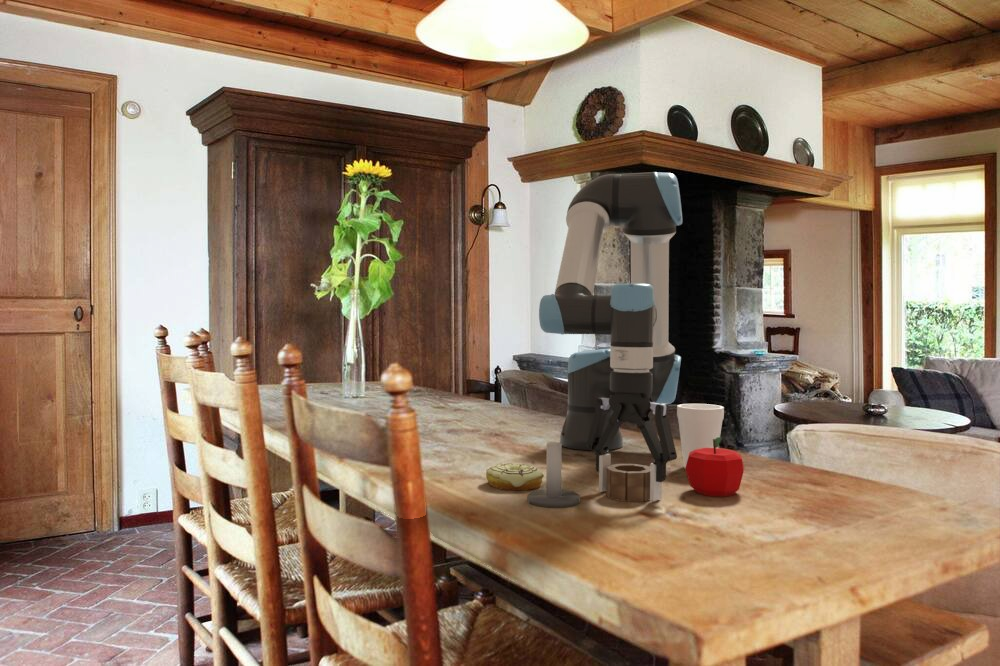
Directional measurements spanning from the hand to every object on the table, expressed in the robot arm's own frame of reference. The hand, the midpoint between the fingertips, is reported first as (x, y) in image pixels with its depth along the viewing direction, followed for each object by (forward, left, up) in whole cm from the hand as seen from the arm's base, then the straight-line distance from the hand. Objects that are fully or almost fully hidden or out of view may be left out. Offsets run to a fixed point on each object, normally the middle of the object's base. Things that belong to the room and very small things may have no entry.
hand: (629, 494), depth 143 cm
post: (+12, -8, 0) cm, 14 cm away
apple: (-13, +10, 0) cm, 16 cm away
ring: (0, 0, 0) cm, 0 cm away
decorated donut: (+7, -21, -1) cm, 22 cm away
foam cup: (-31, -2, 0) cm, 31 cm away
